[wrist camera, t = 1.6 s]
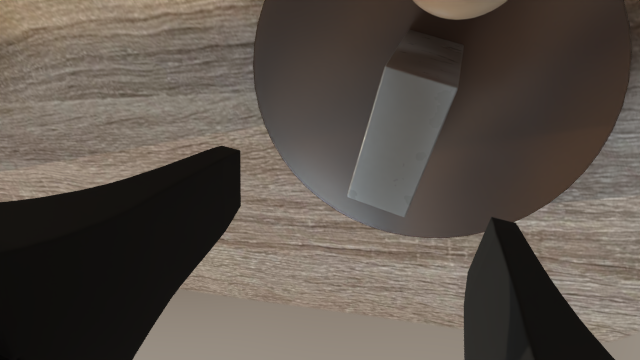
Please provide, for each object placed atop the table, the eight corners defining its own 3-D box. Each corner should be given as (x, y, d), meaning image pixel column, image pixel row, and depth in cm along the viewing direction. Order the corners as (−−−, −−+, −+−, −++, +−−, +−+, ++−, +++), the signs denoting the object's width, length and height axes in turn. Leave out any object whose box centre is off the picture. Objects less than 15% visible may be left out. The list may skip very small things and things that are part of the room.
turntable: (735, -75, 13) (1184, -64, 5) (511, 263, 22) (531, 476, 13) (288, -174, 15) (60, -282, 7) (249, 169, 24) (127, 301, 16)
